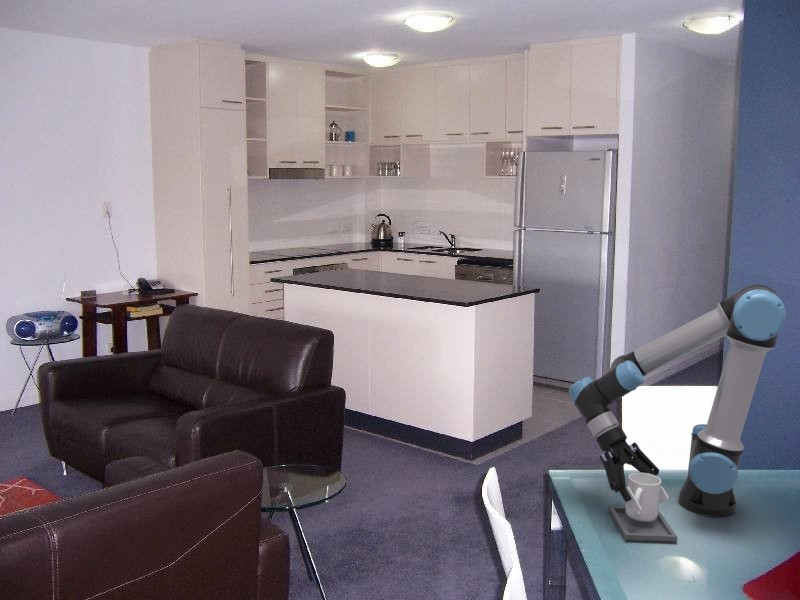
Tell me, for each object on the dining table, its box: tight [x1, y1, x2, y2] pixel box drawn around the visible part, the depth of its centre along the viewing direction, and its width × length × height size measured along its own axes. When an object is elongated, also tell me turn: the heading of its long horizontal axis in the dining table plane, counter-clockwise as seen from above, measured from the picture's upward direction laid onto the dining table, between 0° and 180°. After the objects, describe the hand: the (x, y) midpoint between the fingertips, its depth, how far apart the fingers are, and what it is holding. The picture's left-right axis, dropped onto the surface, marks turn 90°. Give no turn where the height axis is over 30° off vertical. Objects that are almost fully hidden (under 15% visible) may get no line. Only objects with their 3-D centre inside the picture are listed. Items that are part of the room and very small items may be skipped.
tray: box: [608, 505, 678, 545], centre depth 213 cm, size 13×17×2 cm
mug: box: [625, 471, 663, 522], centre depth 212 cm, size 12×8×10 cm
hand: (651, 506), depth 210 cm, fingers closed on mug, 11 cm apart
